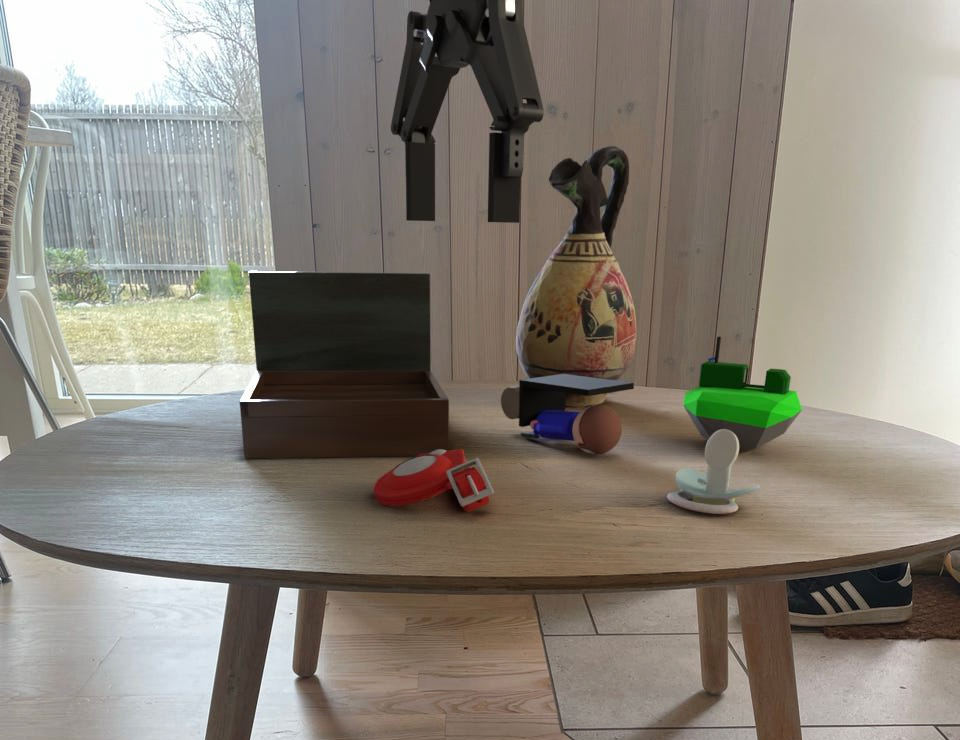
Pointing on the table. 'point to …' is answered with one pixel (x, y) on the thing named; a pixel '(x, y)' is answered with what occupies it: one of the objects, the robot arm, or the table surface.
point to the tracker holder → (435, 480)
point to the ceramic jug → (582, 285)
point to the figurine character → (547, 417)
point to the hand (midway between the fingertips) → (459, 222)
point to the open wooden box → (342, 367)
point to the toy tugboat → (741, 403)
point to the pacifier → (711, 478)
